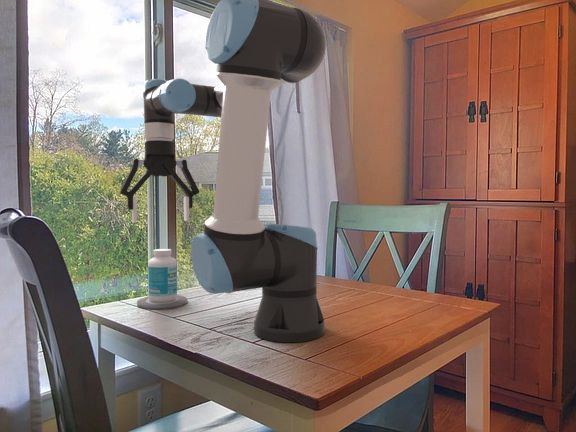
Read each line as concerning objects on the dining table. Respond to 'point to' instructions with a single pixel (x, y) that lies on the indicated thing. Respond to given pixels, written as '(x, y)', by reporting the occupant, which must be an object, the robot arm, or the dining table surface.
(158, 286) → the pill bottle
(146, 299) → the coaster
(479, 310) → the dining table surface
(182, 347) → the dining table surface
